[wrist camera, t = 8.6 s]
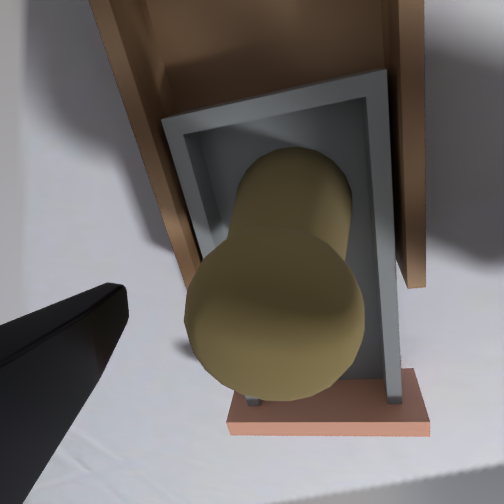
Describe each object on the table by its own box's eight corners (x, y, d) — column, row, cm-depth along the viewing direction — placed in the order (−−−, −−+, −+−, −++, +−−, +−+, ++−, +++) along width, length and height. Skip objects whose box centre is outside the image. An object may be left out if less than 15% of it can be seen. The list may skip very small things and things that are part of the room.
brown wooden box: (407, 248, 20) (426, 287, 17) (211, 270, 23) (192, 306, 20) (392, -242, 12) (421, -362, 9) (96, -119, 15) (30, -173, 12)
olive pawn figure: (284, 119, 17) (238, 194, 7) (379, 198, 18) (449, 356, 8) (214, 212, 20) (114, 355, 10) (300, 276, 21) (283, 462, 11)
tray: (413, 381, 24) (430, 436, 20) (242, 386, 27) (230, 435, 23) (405, 61, 16) (429, 61, 12) (160, 116, 19) (124, 129, 15)
